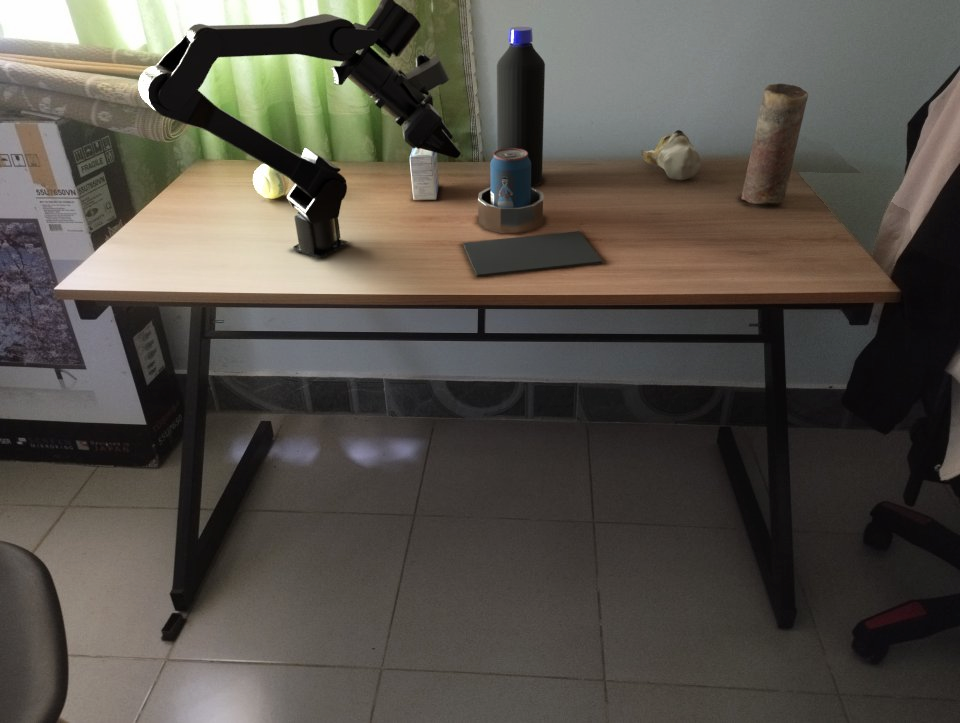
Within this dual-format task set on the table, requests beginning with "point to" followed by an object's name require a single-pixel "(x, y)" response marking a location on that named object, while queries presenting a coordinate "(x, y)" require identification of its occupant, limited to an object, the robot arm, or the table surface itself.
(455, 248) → the table surface
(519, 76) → the bottle
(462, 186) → the table surface
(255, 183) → the tennis ball
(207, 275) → the table surface
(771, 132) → the brown tall cylinder
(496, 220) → the steel holder
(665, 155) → the ceramic sculpture
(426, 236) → the table surface
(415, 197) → the medicine box
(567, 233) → the rubber mat
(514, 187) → the soda can
